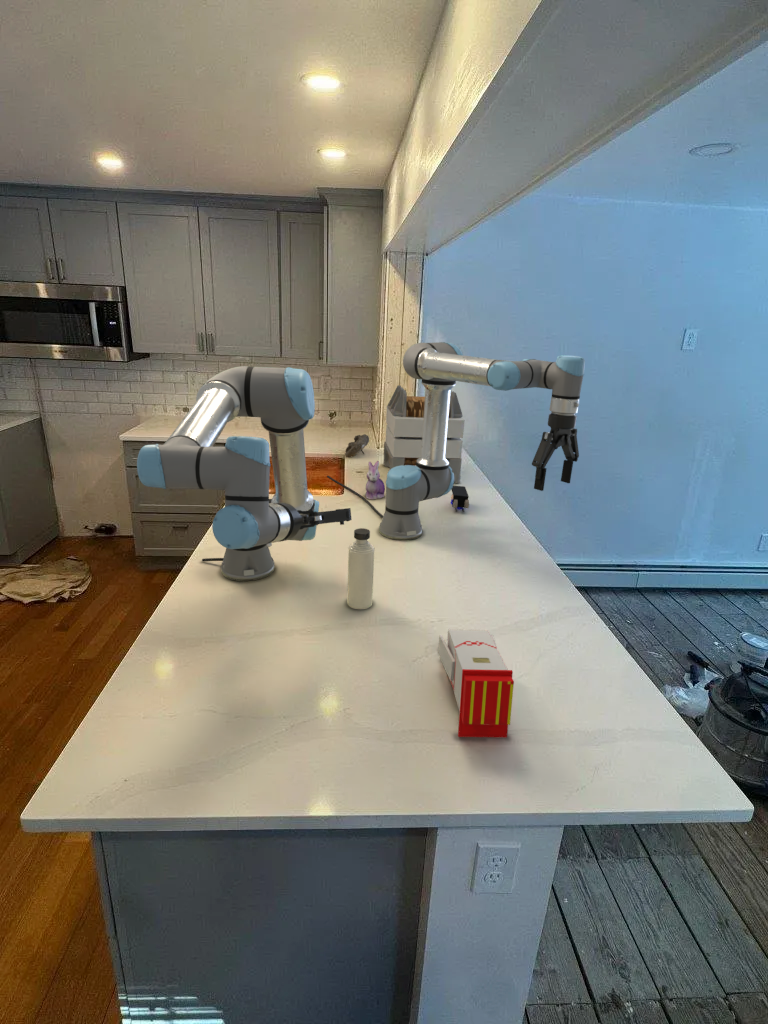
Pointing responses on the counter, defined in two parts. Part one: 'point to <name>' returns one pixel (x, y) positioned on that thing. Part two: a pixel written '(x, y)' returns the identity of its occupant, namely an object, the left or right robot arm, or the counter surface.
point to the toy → (478, 682)
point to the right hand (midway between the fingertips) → (552, 485)
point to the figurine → (374, 483)
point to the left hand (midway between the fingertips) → (322, 516)
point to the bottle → (360, 574)
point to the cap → (361, 534)
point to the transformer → (419, 431)
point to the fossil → (357, 445)
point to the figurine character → (459, 498)
